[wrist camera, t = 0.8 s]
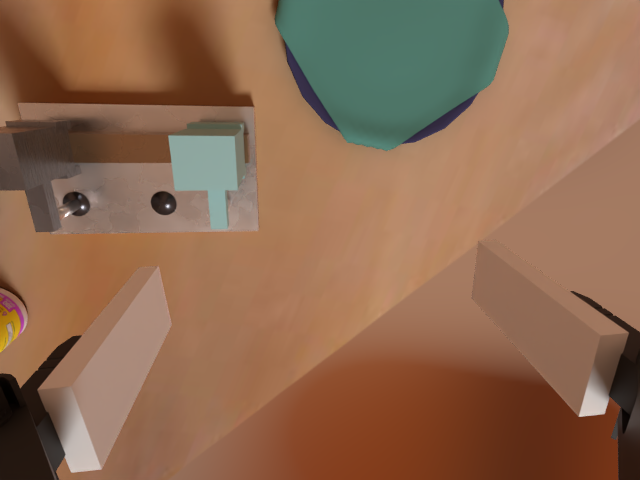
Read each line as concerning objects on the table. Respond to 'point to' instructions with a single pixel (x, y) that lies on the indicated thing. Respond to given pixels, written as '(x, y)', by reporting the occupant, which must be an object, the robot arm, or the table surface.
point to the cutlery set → (391, 62)
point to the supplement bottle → (11, 318)
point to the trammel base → (116, 168)
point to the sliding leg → (209, 163)
